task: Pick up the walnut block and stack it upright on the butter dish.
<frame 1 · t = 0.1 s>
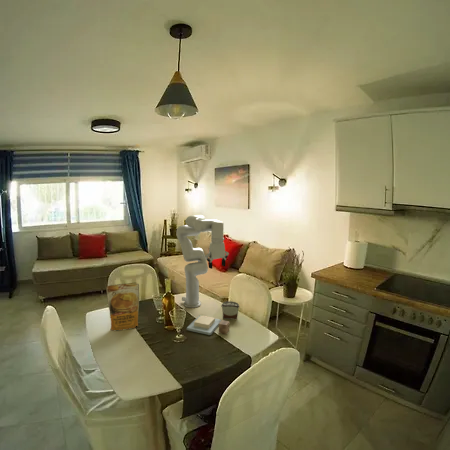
hand: (217, 267, 182), 37 cm above the table, tool pointing down, fingers open, 9 cm apart
walnut block: (224, 331, 176), on the table
butter dish: (204, 325, 183), on the table
food container: (230, 317, 196), on the table
pancake mix bag: (124, 327, 179), on the table
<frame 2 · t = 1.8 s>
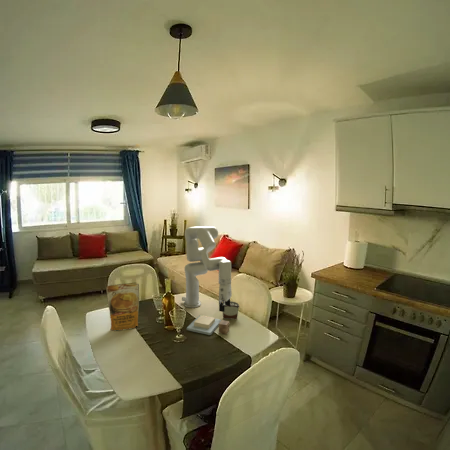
hand: (224, 308, 173), 15 cm above the table, tool pointing down, fingers open, 9 cm apart
nothing on the table moved.
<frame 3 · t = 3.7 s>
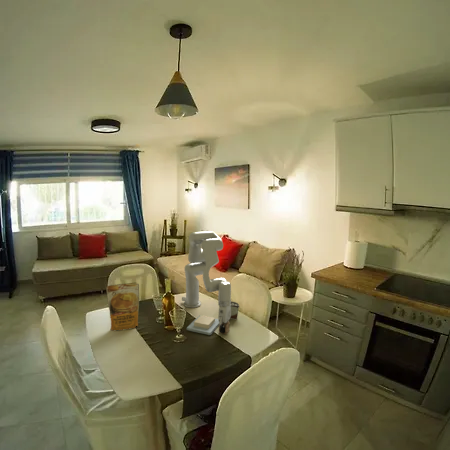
hand: (224, 330, 176), 1 cm above the table, tool pointing down, fingers closed on walnut block, 5 cm apart
walnut block: (224, 331, 176), on the table, touching gripper
everything else where it was.
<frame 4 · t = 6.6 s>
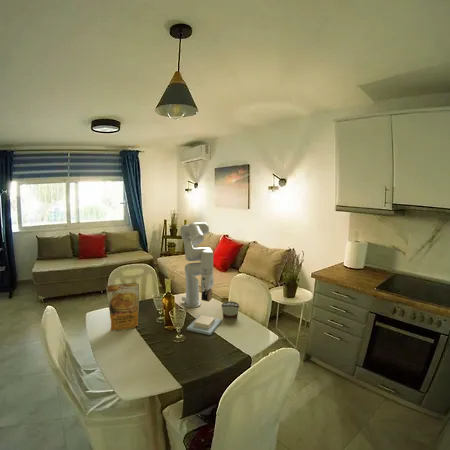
hand: (206, 297, 179), 19 cm above the table, tool pointing down, fingers closed on walnut block, 5 cm apart
walnut block: (206, 299, 180), point 18 cm above the table, touching gripper
everything else where it was.
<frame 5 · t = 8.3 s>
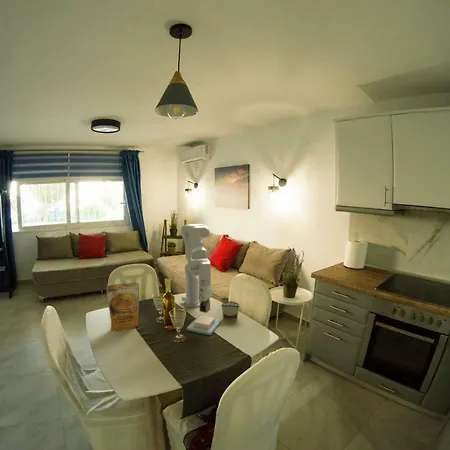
hand: (204, 309, 181), 11 cm above the table, tool pointing down, fingers closed on walnut block, 5 cm apart
walnut block: (204, 310, 181), point 10 cm above the table, touching gripper
everything else where it was.
when the fingers open (6 cm above the table, at t = 9.6 s): walnut block drops 1 cm, resting on butter dish.
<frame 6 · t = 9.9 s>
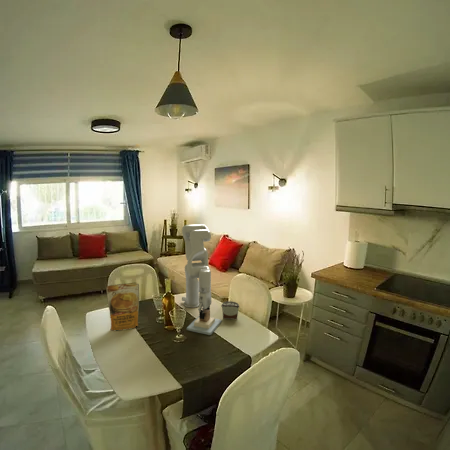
hand: (204, 315, 182), 7 cm above the table, tool pointing down, fingers open, 7 cm apart
walnut block: (204, 319, 182), point 4 cm above the table, touching butter dish
everything else where it was.
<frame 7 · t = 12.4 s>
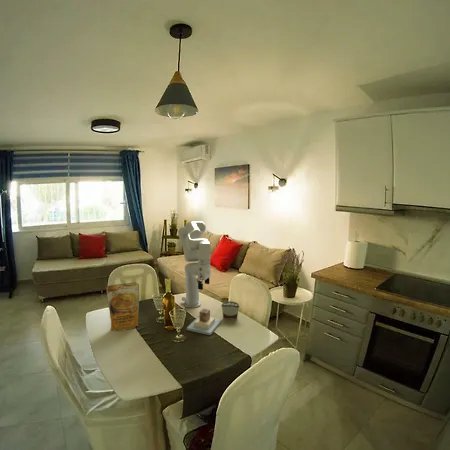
hand: (203, 286, 185), 24 cm above the table, tool pointing down, fingers open, 9 cm apart
nothing on the table moved.
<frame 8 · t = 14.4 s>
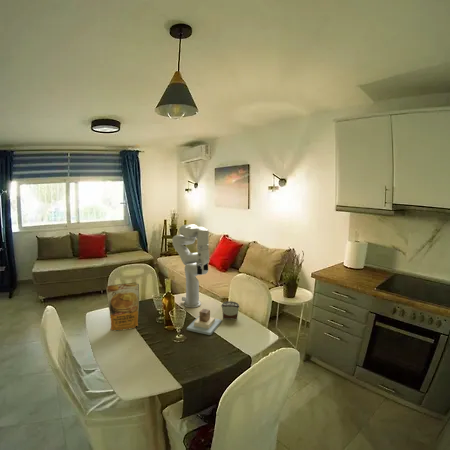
hand: (202, 272, 194), 30 cm above the table, tool pointing down, fingers open, 9 cm apart
nothing on the table moved.
at the end: walnut block 0.1 cm off-centre on the butter dish, point 4.0 cm above the butter dish's base; walnut block tilted 0°; the gripper is holding nothing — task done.
